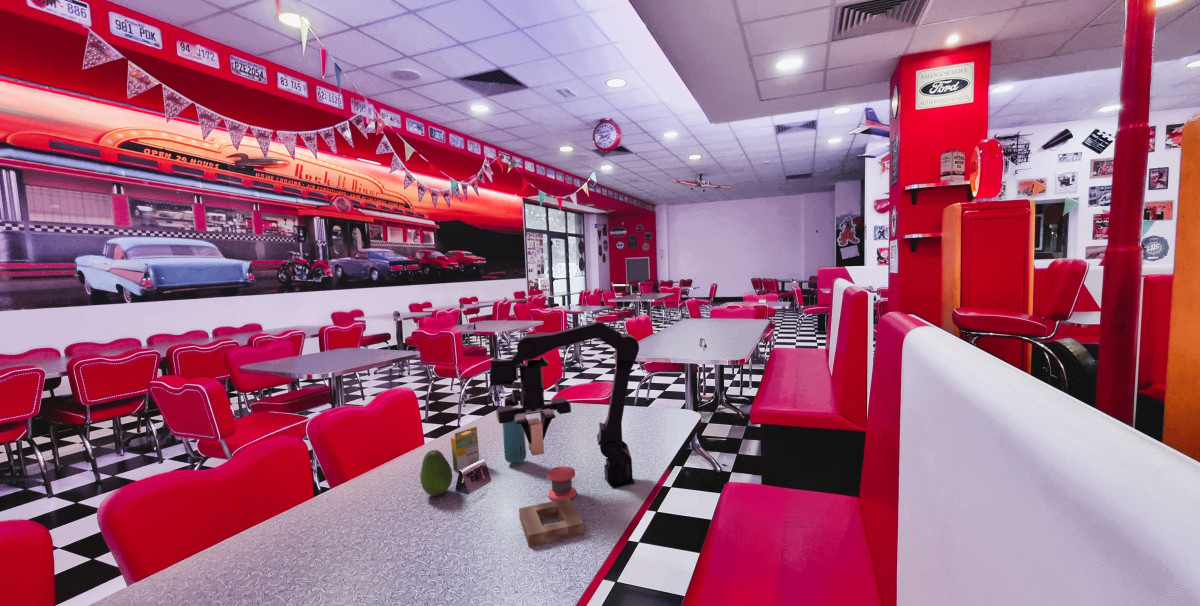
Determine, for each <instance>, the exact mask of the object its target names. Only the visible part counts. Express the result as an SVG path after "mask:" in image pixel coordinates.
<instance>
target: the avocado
mask: <svg viewBox="0 0 1200 606" xmlns="http://www.w3.org/2000/svg"><path fill="white" fill-rule="evenodd" d="M419 476H420V477H419V478H420V479H419V480H420V484H421V486H422V489H423V491H424V492H425V493H426V494H427V495H429V496H432V497H436V496H440V495H442V494H444V493H446V491H448V490H449V488H450V486H451V484H452V480H453V470H452V467H451V465H450V463H449V462H448V460H447V459H446V457H445V456H444V454H443V453H442V452H441V451H440V450H438V449H431V450H429V451H428V452H426V453H425V455H424V457H423V459H422V463H421V470H420V474H419Z"/></svg>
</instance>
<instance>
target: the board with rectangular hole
mask: <svg viewBox="0 0 1200 606" xmlns="http://www.w3.org/2000/svg"><path fill="white" fill-rule="evenodd" d="M518 513H519V520H520V521H519V522H520V525H521V527H522V530H523V532H524V533H523V534H524V537H525V539H526V543H527V547H528V548H530V547H535V546H538V545H539V546H540V545H544V544H546V543H547V544H548V543H551V542H552V543H553V542H555V541H560V540H564V539H565V540H566V539H568V538H573V537H577V536H580V535H582V536H583V535H584V534H585V529H584V527H585V525H584V521H583V519H582V518H581V517H580V515H579V513H578V510H576V507H575V506H574V504H573V502H572V500H570V499H569V498H566V499H561V500H557V501H552V500H551V501H548V502H543V503H538V504H533V505H529V506H524V507H519V508H518ZM555 517H558V520H559V521H557V522H553V523H549V524H544V525H543V524H542V522H541V521H543V520H547V519H550V518H552V519H553V518H555Z"/></svg>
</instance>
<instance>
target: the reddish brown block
mask: <svg viewBox="0 0 1200 606" xmlns="http://www.w3.org/2000/svg"><path fill="white" fill-rule="evenodd" d="M527 420H528V425H529V431H530V437H531V443H530V444H529V443H528V450H529V451H530V453H531V455H532V456H538V455H544V454H545V448H544V447H545V446H544V441H543V429H542V423H541V419H540V418H538V417H535V418H530V419H527Z"/></svg>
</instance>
